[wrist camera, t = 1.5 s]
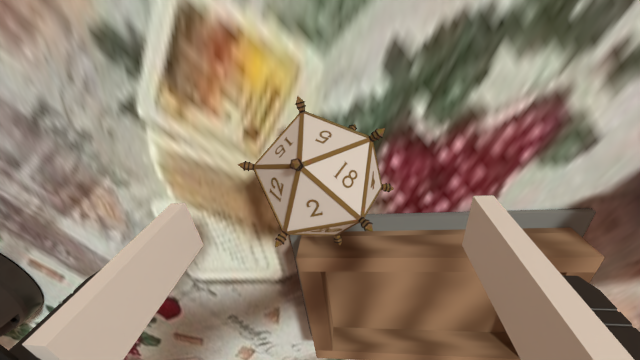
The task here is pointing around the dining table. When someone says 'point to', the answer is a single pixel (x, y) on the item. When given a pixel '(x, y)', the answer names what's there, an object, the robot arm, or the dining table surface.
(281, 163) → the game die
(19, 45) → the dining table surface
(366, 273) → the brown wooden tray
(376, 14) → the dining table surface
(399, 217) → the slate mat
